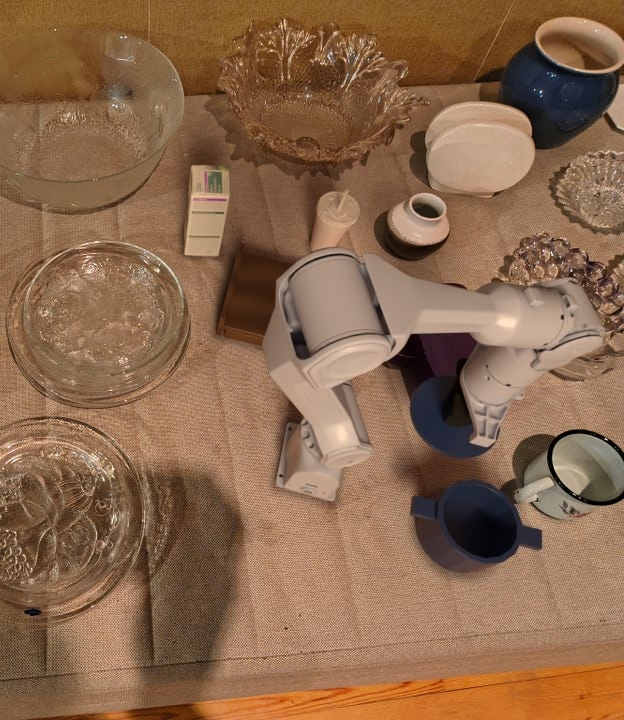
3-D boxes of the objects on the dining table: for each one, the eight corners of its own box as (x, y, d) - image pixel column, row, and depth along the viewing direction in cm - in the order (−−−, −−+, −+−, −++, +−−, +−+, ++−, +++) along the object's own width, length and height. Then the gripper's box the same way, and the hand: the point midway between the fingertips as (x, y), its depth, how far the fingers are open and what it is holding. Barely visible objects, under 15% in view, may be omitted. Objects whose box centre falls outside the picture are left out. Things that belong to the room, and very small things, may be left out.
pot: (514, 589, 84) (545, 580, 78) (391, 554, 85) (412, 542, 79) (516, 512, 88) (545, 498, 82) (399, 480, 90) (419, 464, 84)
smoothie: (298, 256, 106) (322, 197, 94) (305, 226, 109) (329, 165, 97) (337, 267, 106) (367, 209, 93) (344, 236, 108) (373, 176, 96)
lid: (492, 472, 81) (512, 459, 77) (402, 444, 83) (417, 431, 79) (499, 393, 86) (518, 378, 82) (413, 368, 88) (428, 352, 84)
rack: (318, 361, 98) (328, 345, 93) (215, 334, 99) (220, 317, 95) (332, 285, 104) (341, 266, 100) (235, 261, 106) (240, 242, 101)
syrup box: (219, 257, 106) (233, 195, 93) (182, 256, 106) (191, 194, 93) (218, 228, 108) (231, 165, 95) (182, 227, 108) (190, 163, 95)
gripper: (547, 435, 67) (482, 475, 80) (548, 318, 74) (488, 371, 86) (477, 416, 68) (423, 458, 80) (484, 302, 75) (433, 357, 87)
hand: (453, 412), depth 83 cm, fingers closed on lid, 2 cm apart
